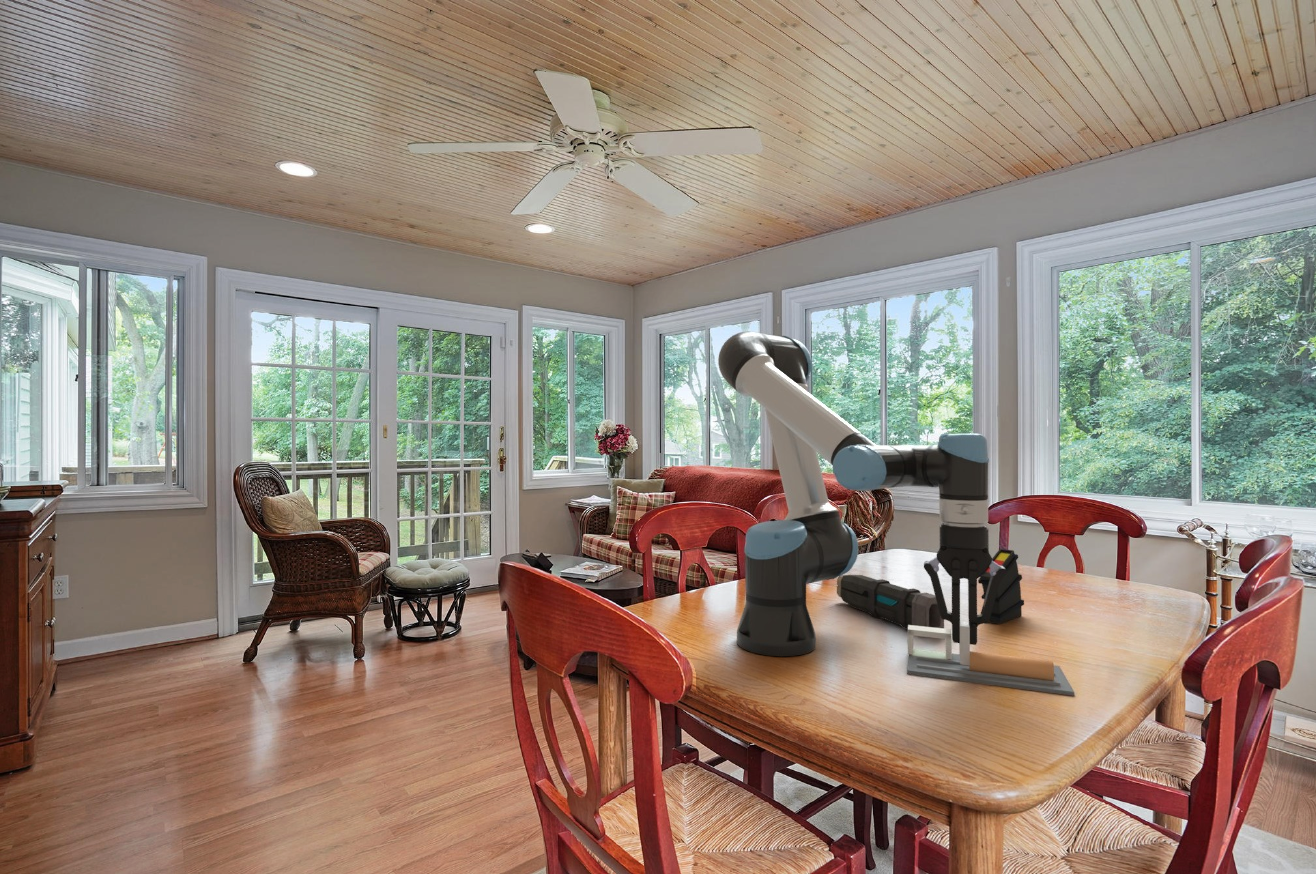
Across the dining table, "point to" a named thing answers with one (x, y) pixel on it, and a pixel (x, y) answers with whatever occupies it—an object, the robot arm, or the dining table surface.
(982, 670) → the tan cylindrical rod
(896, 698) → the dining table surface
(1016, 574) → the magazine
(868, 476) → the robot arm
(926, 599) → the tube
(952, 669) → the guide mat
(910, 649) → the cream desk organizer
